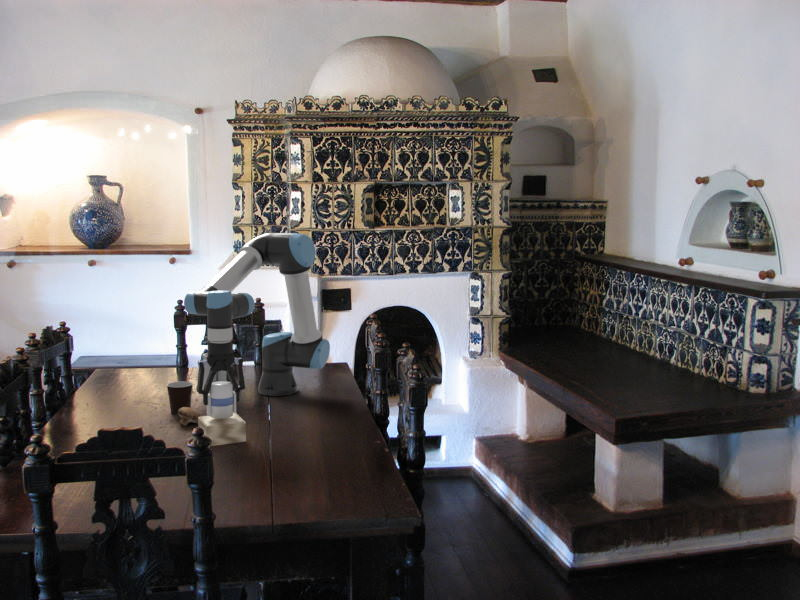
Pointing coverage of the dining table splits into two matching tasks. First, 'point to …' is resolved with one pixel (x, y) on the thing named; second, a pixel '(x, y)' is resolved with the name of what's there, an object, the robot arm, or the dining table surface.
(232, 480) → the dining table surface
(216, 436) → the birch block
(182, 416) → the mushroom
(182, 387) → the coffee mug
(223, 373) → the cup
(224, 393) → the white blue-banded canister
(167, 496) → the dining table surface
